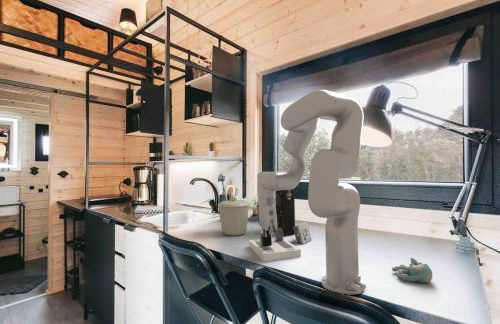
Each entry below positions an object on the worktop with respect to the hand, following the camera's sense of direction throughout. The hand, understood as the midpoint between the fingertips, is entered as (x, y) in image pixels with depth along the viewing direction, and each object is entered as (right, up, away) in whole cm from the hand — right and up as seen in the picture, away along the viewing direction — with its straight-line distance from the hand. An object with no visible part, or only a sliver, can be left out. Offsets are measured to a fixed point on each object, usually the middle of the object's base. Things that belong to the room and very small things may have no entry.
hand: (267, 245), depth 108 cm
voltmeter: (+11, -5, +38) cm, 39 cm away
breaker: (+6, -1, +11) cm, 13 cm away
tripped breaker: (-1, -1, +4) cm, 4 cm away
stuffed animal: (+46, -4, -23) cm, 51 cm away
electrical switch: (+19, -5, +20) cm, 28 cm away
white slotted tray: (+3, -5, +6) cm, 8 cm away
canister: (-16, -6, +38) cm, 41 cm away
